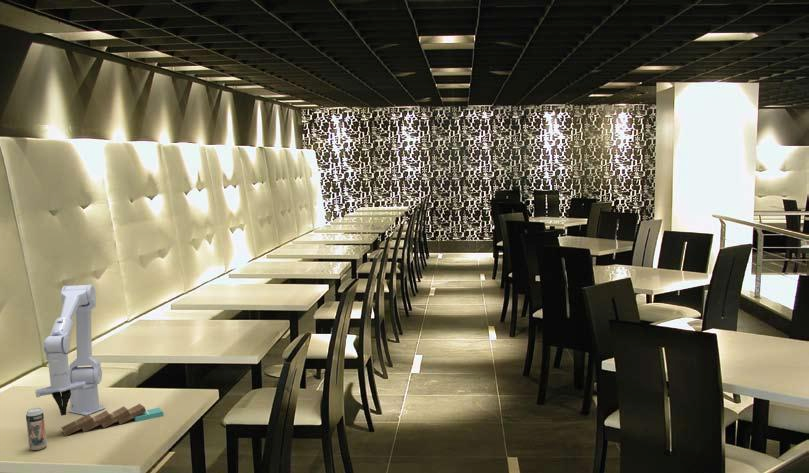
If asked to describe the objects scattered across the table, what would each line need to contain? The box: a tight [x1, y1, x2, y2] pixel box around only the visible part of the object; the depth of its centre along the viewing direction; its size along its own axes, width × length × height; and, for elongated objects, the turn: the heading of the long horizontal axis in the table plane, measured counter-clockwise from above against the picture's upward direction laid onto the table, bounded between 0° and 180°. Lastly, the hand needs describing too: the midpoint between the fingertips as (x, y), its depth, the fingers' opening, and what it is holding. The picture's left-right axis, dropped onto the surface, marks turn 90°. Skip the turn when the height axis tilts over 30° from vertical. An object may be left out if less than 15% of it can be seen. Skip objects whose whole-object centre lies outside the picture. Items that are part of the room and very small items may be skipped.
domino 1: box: [61, 414, 93, 437], centre depth 251 cm, size 2×5×9 cm
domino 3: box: [99, 405, 130, 429], centre depth 257 cm, size 2×5×9 cm
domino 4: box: [116, 403, 147, 425], centre depth 260 cm, size 2×5×9 cm
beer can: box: [25, 407, 48, 452], centre depth 237 cm, size 5×5×12 cm
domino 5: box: [132, 407, 164, 423], centre depth 262 cm, size 2×5×9 cm
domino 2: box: [81, 409, 111, 433], centre depth 254 cm, size 2×5×9 cm
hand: (63, 414), depth 249 cm, fingers closed
